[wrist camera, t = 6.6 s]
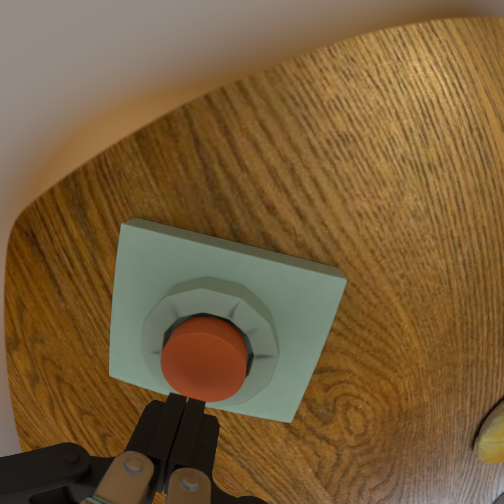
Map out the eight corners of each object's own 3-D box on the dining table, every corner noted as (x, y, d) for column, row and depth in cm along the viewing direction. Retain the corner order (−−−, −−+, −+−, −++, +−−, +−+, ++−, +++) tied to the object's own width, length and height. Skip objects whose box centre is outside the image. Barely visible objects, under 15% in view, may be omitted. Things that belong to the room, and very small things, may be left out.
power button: (165, 371, 16) (156, 390, 14) (175, 306, 15) (165, 322, 13) (238, 390, 16) (235, 411, 14) (256, 327, 15) (255, 345, 13)
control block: (121, 359, 20) (97, 391, 16) (136, 217, 18) (105, 228, 14) (289, 402, 20) (292, 442, 16) (338, 267, 18) (357, 291, 14)
